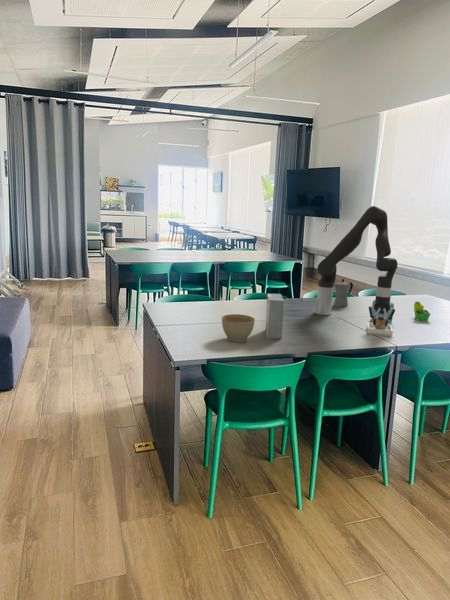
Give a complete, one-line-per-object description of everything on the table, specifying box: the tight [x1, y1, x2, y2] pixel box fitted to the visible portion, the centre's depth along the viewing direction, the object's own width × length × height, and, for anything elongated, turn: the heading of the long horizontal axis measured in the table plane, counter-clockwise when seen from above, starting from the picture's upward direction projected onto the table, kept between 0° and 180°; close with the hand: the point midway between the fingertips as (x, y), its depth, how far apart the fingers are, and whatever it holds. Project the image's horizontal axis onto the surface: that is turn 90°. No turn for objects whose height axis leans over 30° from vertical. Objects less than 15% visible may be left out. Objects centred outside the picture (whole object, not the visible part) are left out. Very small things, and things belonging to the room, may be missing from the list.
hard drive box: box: [265, 293, 285, 340], centre depth 234 cm, size 16×8×20 cm, turn 178°
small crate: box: [375, 317, 386, 330], centre depth 247 cm, size 5×8×5 cm, turn 164°
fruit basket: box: [413, 300, 431, 323], centre depth 277 cm, size 11×9×11 cm
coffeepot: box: [333, 278, 354, 308], centre depth 308 cm, size 15×9×18 cm, turn 115°
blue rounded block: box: [371, 299, 395, 324], centre depth 270 cm, size 12×4×12 cm, turn 32°
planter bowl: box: [221, 313, 256, 343], centre depth 224 cm, size 16×16×11 cm
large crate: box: [366, 321, 394, 337], centre depth 247 cm, size 13×14×3 cm
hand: (379, 325), depth 247 cm, fingers closed on small crate, 4 cm apart
